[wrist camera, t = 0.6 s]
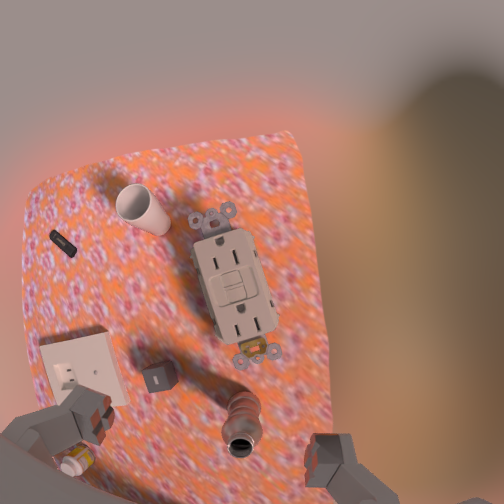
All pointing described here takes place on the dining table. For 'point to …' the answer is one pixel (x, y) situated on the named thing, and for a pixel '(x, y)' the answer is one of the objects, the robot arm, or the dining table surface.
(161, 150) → the dining table surface
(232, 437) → the plastic bottle
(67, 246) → the usb stick
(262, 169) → the dining table surface
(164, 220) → the drinking glass
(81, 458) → the supplement bottle
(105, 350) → the outlet plate
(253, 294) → the electrical outlet
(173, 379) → the block
